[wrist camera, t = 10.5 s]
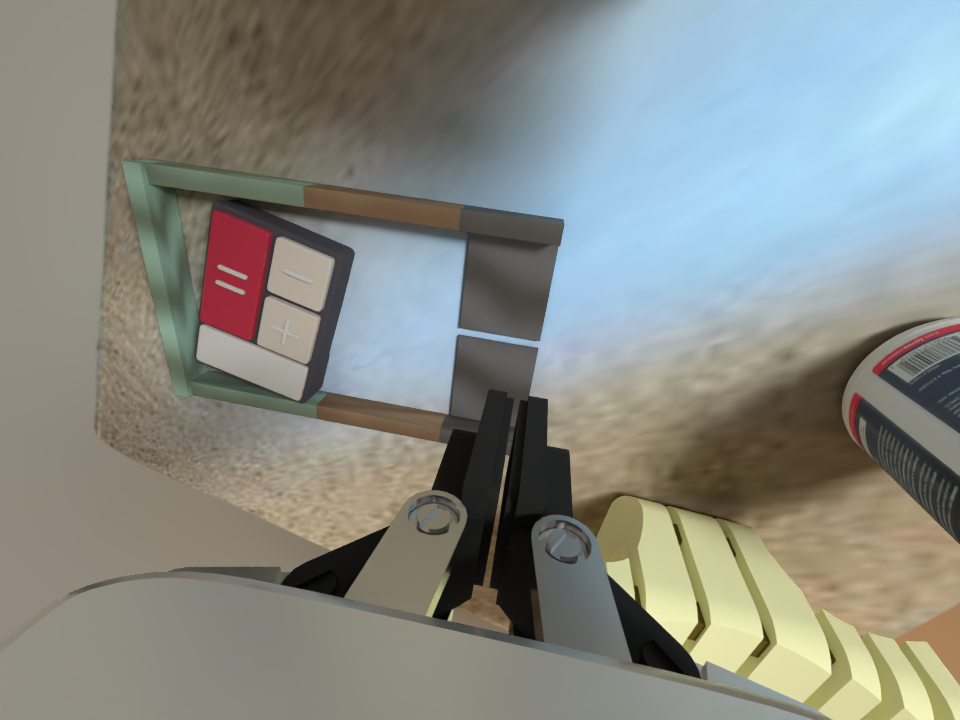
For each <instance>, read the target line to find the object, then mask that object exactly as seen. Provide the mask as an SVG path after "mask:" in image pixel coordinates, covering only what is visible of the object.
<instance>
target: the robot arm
mask: <svg viewBox="0 0 960 720" xmlns="http://www.w3.org/2000/svg"><path fill="white" fill-rule="evenodd" d="M507 393H508V392H504V391H499V390H493V389H489V390H488V394H487V398H486V402H485V405H484V409H483V413H482V417H481V421H480V424H479V428H478V432H477V433H476V432H471V431H465V430H460V429H455V428H454V429H453V431H452V433H451V436H450V439H449V442H448V445H447V448H446V450H445V453H444V456H443V459H442V462H441V465H440V467H439V470H438V473H437V476H436V479H435V482H434V484H433V487H432V490H429V491H424V492H420V493H417V494H415V495H414V496H412V497H410V498H409V499H408V500H407V501H406V502H405V503H404V505H403V506H402V508H401V509H400V511H399V513H398V514H397V516H396V517H395V519H394V520H393V522H392V523H391V525H390V526H388V527H386V528H383V529H381V530H379V531H376V532H374V533H372V534H370V535H367V536H365V537H363V538H360V539H358V540H356V541H354V542H351V543H349V544H347V545H344V546H342V547H340V548H338V549H335V550H333V551H331V552H328V553H326V554H324V555H322V556H319V557H317V558H315V559H312V560H310V561H308V562H306V563H304V564H302V565H300V566H299V567H297V568H295V569H294V570H293V571H292V572H281V569H280V567H184V568H178V569H173V570H171V571H168V572H152V573H145V574H137V575H130V576H123V577H118V578H114V579H110V580H105V581H102V582H98V583H95V584H91V585H88V586H85V587H83V588H80V589H78V590H75V591H73V592H71V593H69V594H67V595H65V596H63V597H61V598H60V599H57V600H56V601H54V602H52V603H51V604H49V605H48V606H46V607H45V608H43V609H41V610H40V611H38V612H37V613H35V614H34V615H33V616H31V617H30V618H29V619H27V620H26V621H25V622H23V623H21V624H20V625H19V626H18V627H16V628H15V629H14V630H13V631H11V632H10V633H9V634H7V635H6V636H5V637H4V638H2V639H1V640H0V720H833V719H830V718H828V717H827V716H826V715H824V714H822V713H821V712H819V711H817V710H816V709H814V708H812V707H810V706H808V705H806V704H803V703H801V702H799V701H797V700H794V699H792V698H790V697H788V696H785V695H783V694H781V693H779V692H776V691H774V690H772V689H769V688H767V687H765V686H763V685H760V684H758V683H756V682H754V681H751V680H749V679H747V678H744V677H742V676H740V675H738V674H735V673H733V672H731V671H729V670H726V669H724V668H722V667H719V666H717V665H715V664H713V663H710V662H708V661H706V663H705V664H704V666H703V665H700V664H698V663H696V662H694V660H693V659H692V657H691V656H690V654H689V653H688V652H687V651H686V650H685V649H684V647H683V646H682V645H681V644H680V643H679V642H678V641H677V640H676V639H675V638H674V637H673V636H672V635H671V634H670V633H668V632H667V631H666V630H665V629H664V628H663V627H662V626H661V625H660V624H659V623H658V622H657V621H656V620H655V619H654V618H653V617H652V616H651V615H650V614H649V613H648V612H647V611H646V610H645V609H644V608H643V607H642V606H641V605H639V604H638V603H637V602H636V601H635V600H634V599H633V598H632V597H631V596H630V595H629V594H628V593H627V592H626V591H625V590H624V589H623V588H622V587H621V586H620V585H619V584H618V583H617V582H616V581H615V580H614V579H613V578H612V577H610V576H609V575H608V574H607V573H606V569H605V566H604V562H603V559H602V555H601V552H600V548H599V545H598V542H597V540H596V538H595V536H594V534H593V533H592V532H591V531H590V530H589V528H588V527H586V526H585V525H584V524H582V523H581V522H580V521H578V520H575V519H573V513H572V493H571V473H570V454H569V450H566V449H561V448H556V447H550V446H547V416H548V399H543V398H538V397H532V396H528V400H527V401H526V400H520V403H519V409H518V414H517V419H516V425H515V430H514V435H513V441H512V446H511V451H510V457H509V462H508V467H507V472H506V478H505V484H504V491H503V498H502V505H501V512H500V519H499V526H498V533H497V539H496V546H495V553H494V560H493V567H492V574H491V581H490V588H493V589H498V593H497V601H496V604H497V605H499V606H500V607H501V609H502V610H503V611H504V613H505V614H506V615H507V616H508V618H509V619H510V623H509V634H504V633H500V632H495V631H491V630H486V629H482V628H477V627H473V626H468V625H464V624H460V623H455V622H451V620H452V617H453V612H454V608H456V607H457V606H459V605H461V604H462V603H464V602H466V601H467V600H469V599H471V596H472V591H473V585H474V584H475V585H480V586H483V581H484V575H485V570H486V564H487V559H488V553H489V548H490V543H491V537H492V532H493V526H494V521H495V515H496V510H497V504H498V499H499V493H500V487H501V481H502V474H503V468H504V462H505V455H506V449H507V442H508V436H509V429H510V423H511V416H512V410H513V403H514V398H509V397H507Z"/></svg>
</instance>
